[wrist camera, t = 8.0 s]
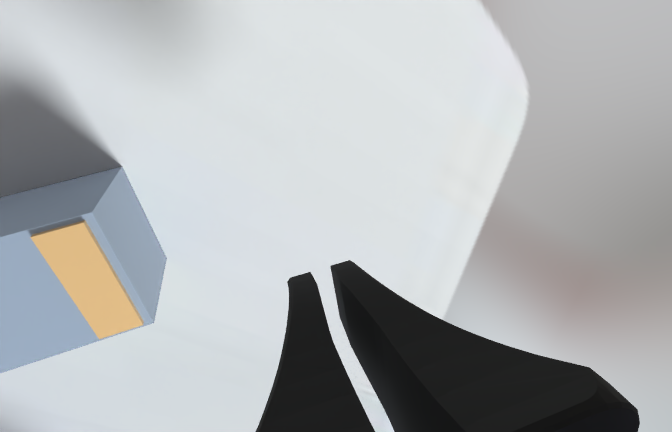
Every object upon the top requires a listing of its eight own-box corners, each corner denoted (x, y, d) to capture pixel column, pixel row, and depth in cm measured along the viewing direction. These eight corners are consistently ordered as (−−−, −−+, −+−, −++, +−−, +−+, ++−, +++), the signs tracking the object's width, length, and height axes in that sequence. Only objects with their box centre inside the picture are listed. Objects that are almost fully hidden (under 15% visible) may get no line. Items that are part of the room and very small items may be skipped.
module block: (166, 257, 19) (153, 326, 15) (16, 302, 18) (-49, 392, 13) (122, 165, 17) (90, 214, 12) (-55, 210, 16) (-163, 283, 11)
